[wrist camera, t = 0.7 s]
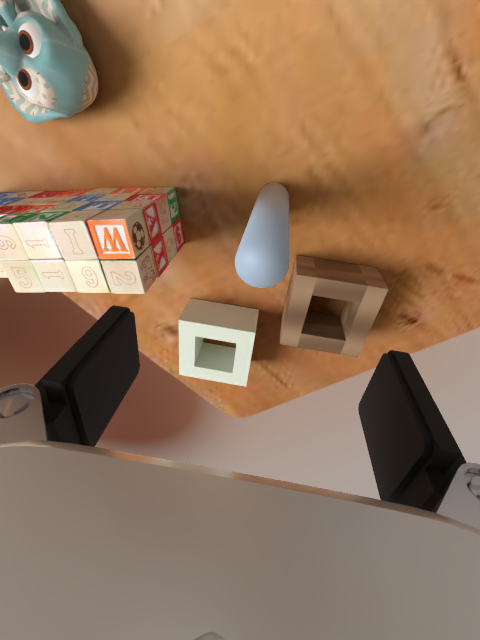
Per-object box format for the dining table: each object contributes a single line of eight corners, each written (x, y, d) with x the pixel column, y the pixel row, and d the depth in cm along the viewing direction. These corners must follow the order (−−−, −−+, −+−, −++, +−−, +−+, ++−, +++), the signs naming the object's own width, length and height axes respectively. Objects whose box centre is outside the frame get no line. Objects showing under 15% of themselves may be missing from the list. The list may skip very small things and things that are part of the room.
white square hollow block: (190, 298, 39) (178, 319, 35) (259, 309, 39) (255, 332, 35) (189, 350, 44) (179, 374, 40) (250, 360, 44) (246, 386, 40)
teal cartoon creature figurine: (-115, -125, 18) (51, -20, 18) (-2, -59, 24) (124, 21, 24) (-87, 77, 24) (38, 157, 24) (-2, 91, 30) (99, 155, 30)
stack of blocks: (23, 244, 38) (-73, 292, 28) (-3, 191, 35) (-122, 224, 25) (186, 243, 35) (145, 296, 25) (177, 185, 32) (124, 219, 22)
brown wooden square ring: (295, 254, 34) (296, 274, 30) (376, 267, 34) (388, 289, 29) (280, 319, 39) (279, 344, 35) (350, 331, 39) (357, 357, 35)
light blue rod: (260, 180, 30) (237, 233, 17) (292, 184, 30) (294, 242, 17) (255, 212, 32) (232, 283, 19) (285, 217, 32) (283, 291, 19)
